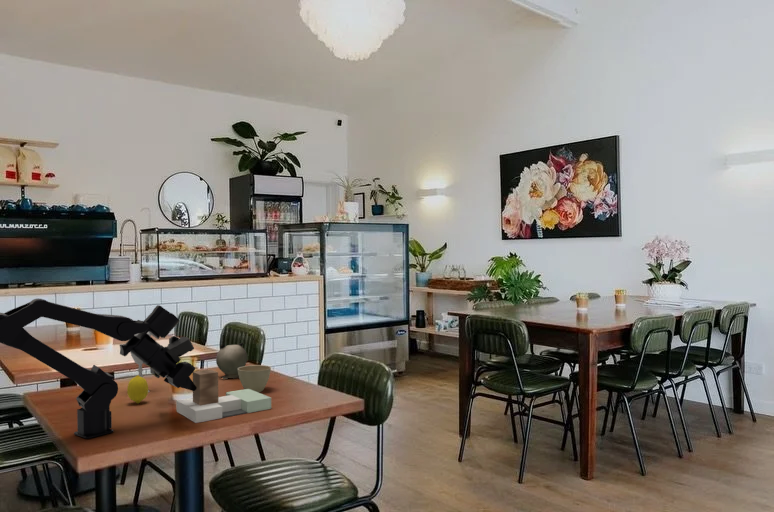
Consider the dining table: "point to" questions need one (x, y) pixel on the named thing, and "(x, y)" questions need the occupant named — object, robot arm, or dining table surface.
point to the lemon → (137, 389)
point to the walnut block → (205, 387)
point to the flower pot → (254, 377)
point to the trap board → (224, 406)
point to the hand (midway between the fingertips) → (195, 389)
